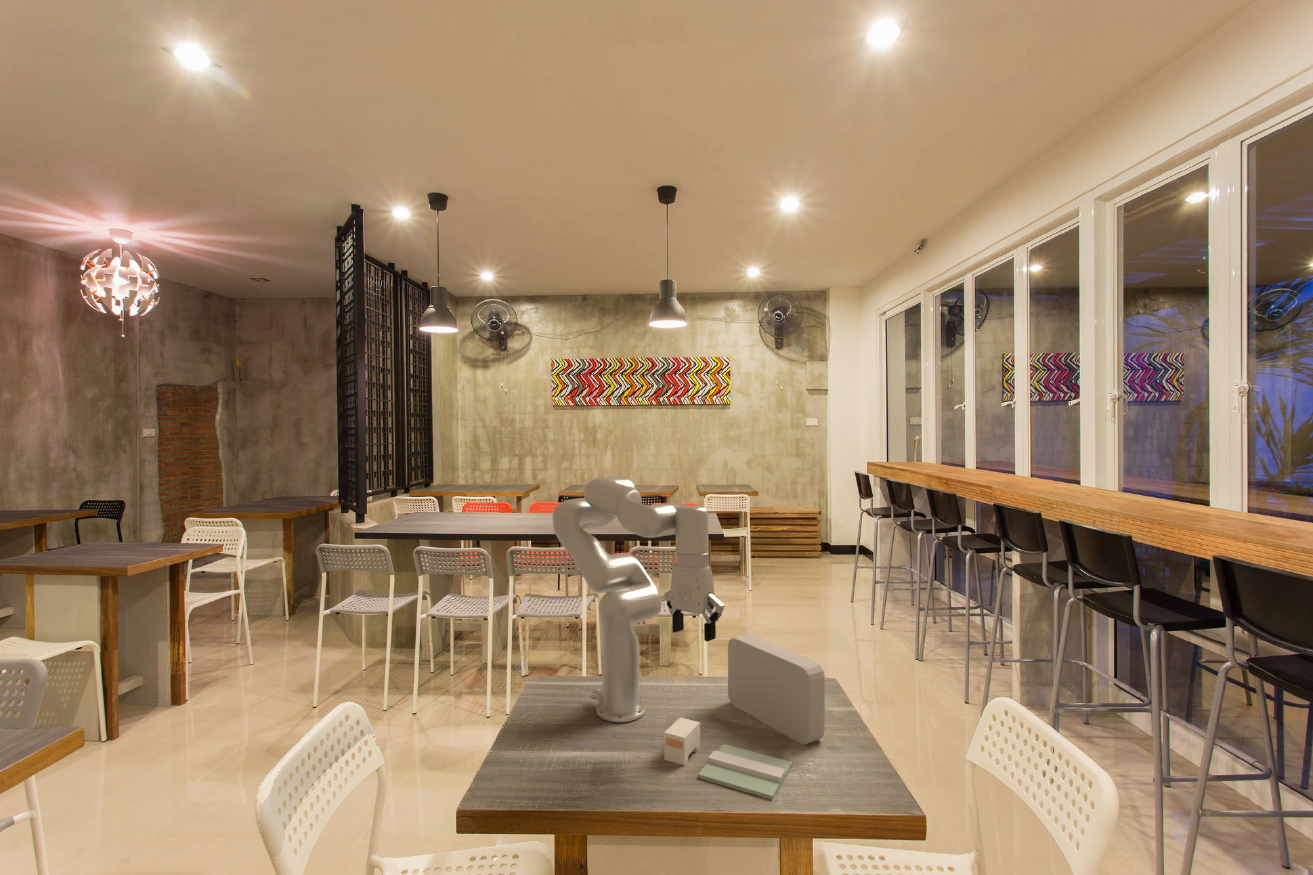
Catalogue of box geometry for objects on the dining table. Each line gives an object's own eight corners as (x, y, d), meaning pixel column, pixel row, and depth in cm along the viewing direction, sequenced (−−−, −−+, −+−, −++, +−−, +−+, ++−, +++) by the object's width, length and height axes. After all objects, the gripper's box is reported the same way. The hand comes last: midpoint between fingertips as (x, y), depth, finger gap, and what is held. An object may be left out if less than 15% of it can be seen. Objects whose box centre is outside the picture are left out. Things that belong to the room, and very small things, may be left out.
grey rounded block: (831, 739, 141) (831, 663, 141) (808, 749, 137) (809, 670, 137) (748, 696, 165) (749, 630, 165) (727, 702, 161) (727, 635, 161)
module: (663, 759, 132) (664, 732, 132) (680, 743, 140) (680, 717, 140) (684, 765, 130) (684, 738, 130) (699, 748, 137) (700, 722, 137)
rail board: (698, 777, 125) (698, 769, 125) (723, 747, 138) (723, 739, 138) (772, 800, 118) (772, 790, 118) (792, 765, 130) (792, 757, 130)
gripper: (654, 558, 141) (655, 631, 141) (711, 567, 129) (712, 647, 129) (676, 553, 146) (677, 624, 146) (732, 562, 134) (734, 639, 134)
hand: (693, 635), depth 137 cm, fingers open, 9 cm apart
